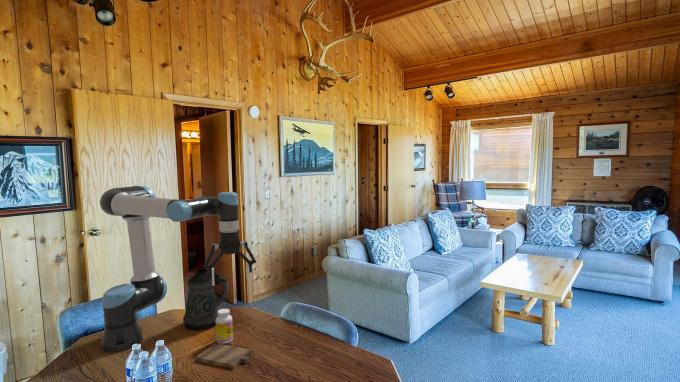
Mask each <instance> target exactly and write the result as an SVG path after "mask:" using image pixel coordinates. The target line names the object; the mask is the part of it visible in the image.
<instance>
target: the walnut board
mask: <svg viewBox="0 0 680 382" xmlns="http://www.w3.org/2000/svg"><path fill="white" fill-rule="evenodd" d="M250 355H252V350H251V349H248V348H242V347H238V346H233V345H227V344H219V343H217V342H216V343H213V344H211V345H210V346H209V347H207V348H206V349H205V350H203V351H202V352H201V353H199V354H198V355H196V356H195V361H196V362H200V363H204V364H210V365H213V366H214V365H215V366H220V367H222V368H223V367H224V368H229V369H236V368H237V366H239V365H240V364H241V363H243V364H248V363H249V362H250V361H251V357H250Z"/></svg>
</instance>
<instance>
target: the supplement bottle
mask: <svg viewBox="0 0 680 382" xmlns="http://www.w3.org/2000/svg"><path fill="white" fill-rule="evenodd" d="M230 311H231V310H230V309H229V308H222V309H221V308H220V309H219V311H218V317H217V318H216V326H215V339H216V343H217V344H222V345H227V344H229V343H231V342H232V341H233V340H234V332H233V331H234V329H233V327H234V326H233V316H232V315H230Z"/></svg>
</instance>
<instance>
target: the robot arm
mask: <svg viewBox="0 0 680 382" xmlns="http://www.w3.org/2000/svg"><path fill="white" fill-rule="evenodd" d="M99 199H100V200H99V206H100V208H101V210H102V211H103V212H104V213H105V214H106V215H110V216H117V217H122V219H123V220H124V221H125V222H126V226H127V227H126V228H127V231H128V232H127V234H128V241H129V248H130V249H129V250H130V256H131V263H132V272H133V275H132V276H131V278H130V279H129V281H130V283H122V284H120V285H119V284H116V285H115V286H113V287H110V288H109V289H107V290H106V291H105V292H104V293H103V295H102V310H103V323H104V324H103V325H104V331H103V333H102V334H103V335H102V338H101V341H100V349H101V348H102V349H103V350H105V351H104V352H106V351H116V352H121V351H120V350H122V351H125V350H124V349H126V350H128V349H127V348H129V349H131V348H132V347H131V346H132V345H133V344H135V343H139V344H141V342H142V341H143V340H144V334H143V333H144V332H143V331H142V328H141V327H140V325H139V323H138V317H137V316H138V314H137V313H138V312H141V311H143V310H145V309H148V308H149V307H151V306H152V307H153V306H155V305H156V304H158V303H159V302H161V301H163V299H164V298H165V297H166V295H167V293H168V284H167V282H166V281H165V279H164V277H162V276H160V273H159V272H157V271H156V268H155V258H154V251H153V243H152V242H153V241H152V234H151V227H150V218H152V217H153V218H161V219H169V220H171V221H172V222H174V223H175V222H176V223H179V222H182V223H183V222H186V221H190V220H193V219H198V218H202V217H208V216H216V217H217V216H218V227H219V243H217V244H216V243H213V242H212V243H211V248H210V251H209V253H208V255H207V257H206V259H205V262H204V264H203V269H207V270H209V277H212V286H214V287H215V284H214V272H215V268H214V266H215V265H216V264H217V263H218V261H219V260H220V259H221V258H222V257H223V256H224V255H234V254H236V253H237V255H239V256H240V258H242V259H243V260H244V261H245V263H246V280H247V282H249V283H250V273H253V264H256V263H257V260H256V258H255V256H254V254H253V252H252V251H251V250H250V248H249V244H248V241H247V240H244V241H240V231H239V229H240V225H239V224H240V223H239V220H240V219H239V199H238V193H237V192H235V191H224V192H223V191H222V192H219V193H218V194H217V196H205V195H204V196H196V197H194V198H190V199H174V198H164V197H163V198H162V197H156V195H155V193H154V191H153V190H152V189H151V188H150V187H148V186H145V185H134V186H123V187H114V188H110V189H107V190H106V191H105V192H104V193H103V194H102V195H101V197H100V198H99ZM241 246H242V247H243V248H245V249H244V250H245V251H246V252H247V254H248V255H249V257H250V259H251V260H250V259H249V258H248V257H247V256H246V255H245V254H244V253H243V252H242V251H241V250H240V248H241ZM218 248H219V249H220V251H219V252H218V253H217V255H216V256H215V258H214V259H213V260H212V257H213V255H214V253H215V250H217V249H218ZM210 262H211V263H210ZM142 339H143V340H142ZM102 349H101V350H102ZM103 350H102V351H103Z"/></svg>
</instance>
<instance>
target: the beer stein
mask: <svg viewBox="0 0 680 382" xmlns="http://www.w3.org/2000/svg"><path fill="white" fill-rule="evenodd" d="M186 285H187V287H188V291H187V301H186V307H185V312H184V315H183V317H182V322H183V326H184V329H185V330H188V331H192V332H194V331H196V332H200V331H204V330H210V329H212V328H214V327H216V318H217V317H218V311H219V310H220V308H219V305H220V304H221V303H222V302H223V301H224V300H225V299H226V297H227V294H228V292H229V284H228V280H227V279H226V278H224V277H220V273H218V272H215V271H214V286H212V277H209V270H208V269H207V268H202V269H197V270H196V271H195V273H193V275H192V276H190V277H189V279H187V281H186ZM215 285H216V286H217V285H221V286H222V288H223V290H222V292H221V294H220V295H219V296H218V298H217V299H216V297H217V296H216V290H215Z"/></svg>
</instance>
